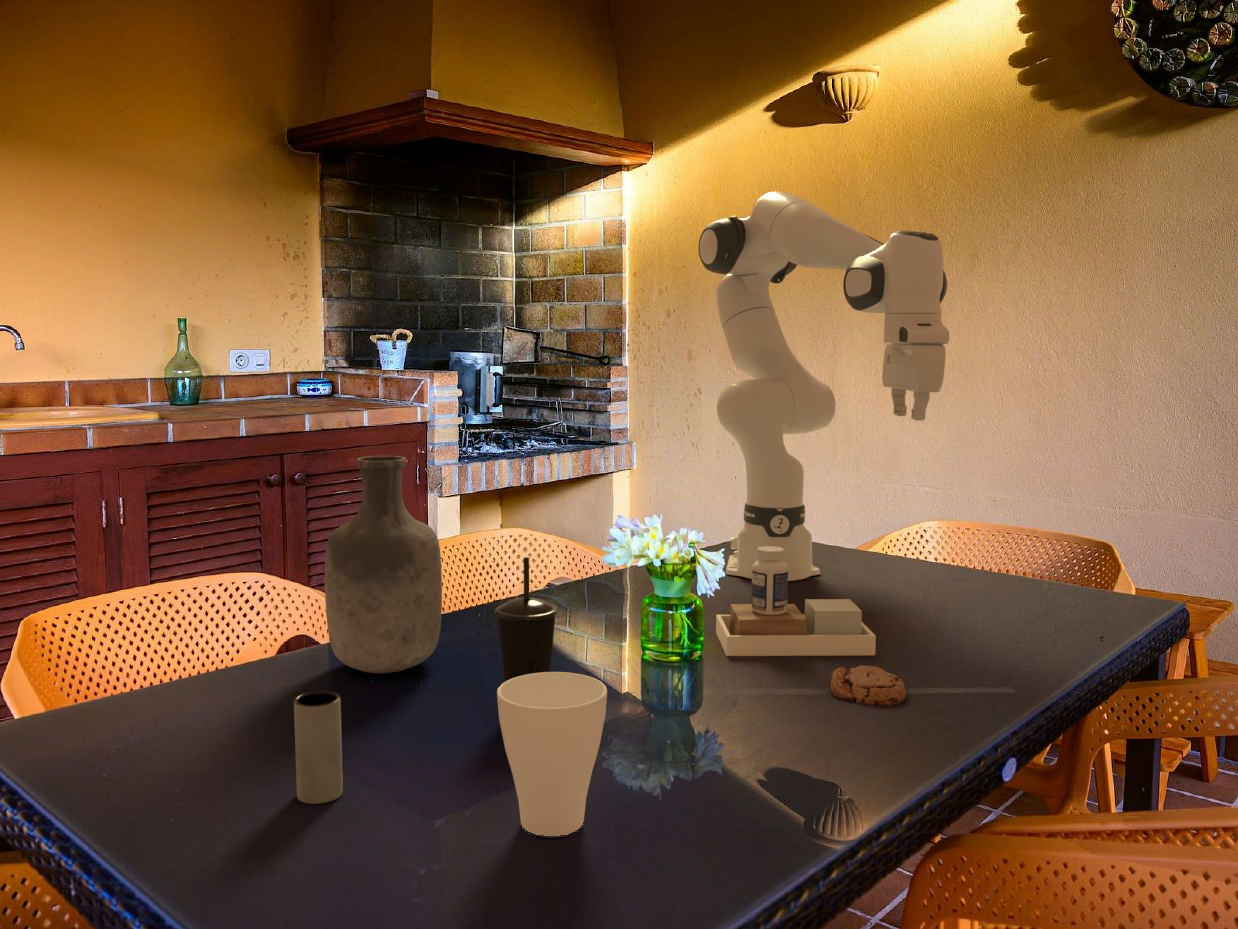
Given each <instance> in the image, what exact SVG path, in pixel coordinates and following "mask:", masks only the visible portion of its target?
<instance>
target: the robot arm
mask: <svg viewBox="0 0 1238 929" xmlns="http://www.w3.org/2000/svg"><path fill="white" fill-rule="evenodd" d="M698 256H699V259H700V262H701V264H702V266H703V267H704V268H705V269H706V271H709V272H711V273H713V274H714V273H715V274H718V275H719V274H720V275H725V276H724V277H723V278H722V279H721V280H720V281H719V282H718V284H717V287H716V303H717V309H718V314H719V319H720V323H721V327H722V331H723V334H724V337H725V340H726V343H727V346H728V350H729V352H730V356H731V360H732V361H733V364H734V365H735V366H736V367H737V369H739V370H741V371H742V372H744V373H745V374H748V375H749V376H750V377H751V378H752V379H751V378H750V379H744V380H742V381H741V380H740V381H737V382H735V383H734V382H733V383H731V384H728V385H726V386H725V387H724V388H723V389H722V391H721V392H720V394H719V396H718V400H717V403H716V404H717V405H716V413H717V418H718V420H719V423H720V424H721V425H722V427H723V429H724V430H725V431H726V432H728V433H729V434H730V435H731V436H732V437H733V438H734V440H735V441H736V443H737V444H738V445H739V448H740V450H741V453H742V455H743V458H744V463H745V468H746V469H745V470H746V502H745V503H744V509H743V521H744V523H743V525H742V527H741V529H739V532H738V533H737V536H733V537H731V538H730V548H731V549H732V550H735V551H733V554H730V555H729V558H728V562H727V565H726V570H725V575H730V576H738V577H743V578H746V579H750V580H752V566H753V564H754V563H755V562H756V561H758V560H759V558H757V549H758V548H759V547H764V546H774V547H780V548H783V549H784V558H783V559H782V562H784V563H786V564H787V566H788V582H791V581H792V582H793V581H799V580H804V579H807V578H809V577H812V576H817V575H820V574H821V570H820V568H818V567H816V566H815V565H813V538H812V535H813V534H812V532H810V531H809V530H808V529H807V528H806V527H805V524H804V523H805V521H806V519H805V518H806V506H805V504H804V480H805V478H804V476H805V475H804V467H803V465H802V463H801V462H800V461H799V459H797V458H796V457H794V456H792V455H791V454H789V452H788V450H787V449H786V447H785V446H786V445H785V442H784V435H797V434H798V435H799V434H807V433H812V432H815V431H818V430H822V429H824V428H826V427H828V426H829V425H830V423H832V420H833V419H834V416H835V414H836V404H837V402H836V397H835V394H834V393H833V390H832V389H831V387H830V386H829V385H828V384H826V383H825V382H822V380H819V379H818V378H817V377H815V376H814V375H813V374H811V373H810V372H809V371H808V370H807V369H806V367H804V365H803V364H802V362H800V361H799V359H798V358H797V357H796V356H795V355H794V353H793V352H792V350H791V348H790V346H789V345H788V343H787V340H786V339H785V336H784V333H783V330H782V326H781V324H780V322H779V320H778V316H777V313H776V310H775V308H774V305H773V303H772V300H771V297H770V294H769V287H770V284H771V283H772V284H780V283H783V281H784V280H785V277H786V276H787V275H789V274H791V273H792V272H793V271H794V270H795V269H796V267H797V266H800V267H804V268H811V269H813V268H814V269H832V270H845V274H844V277H843V285H842V286H843V295H844V297H845V300H846V302H847V304H848V305H849V306H850V307H851V308H852V309H853V310H855V311H857V312H858V311H859V312H863V313H868V314H869V313H870V314H873V313H874V314H884V322H883V323H884V324H883V325H884V326H883V327H884V328H883V330H884V331H883V343H884V344H886V346H885V349H884V353H883V362H882V375H881V376H882V380H881V381H882V385H883V387H885V388H890V389H891V392H890V395H891V400H892V404H893V412H892V413H893V415H894V416H896V417H905V416H907V409H908V406H907V405H906V396H907V391H908V392H909V391H910V392H913V399H914V400H913V401H914V403H913V408H911V420H914V421H917V422H918V421H919V422H920V421H921V422H922V421H924V420H925V419H926V414H927V412H926V411H927V407H928V404H929V402H930V393H940V391H941V389H942V387H943V383H944V376H945V366H946V352H947V350H946V347H945V345H948V344H949V342H950V330H949V329H948V327H946V326H945V325H944V323H943V321H942V316H943V315H942V307H941V303H942V302H943V301H944V298H945V296H946V294H947V290H948V279H947V275H946V271H945V270H944V253H943V246H942V242H941V239H940V238H939V237H938V236H937V235H936V234H934V233H930V232H925V231H915V230H913V231H912V230H896V231H895V232H893V233H892V234H890V236H889V238H888V239H887V241H886V242H885V243H883V242H881V241H879V240H877V239H875V238H873V237H871V236H869V235H867V234H865V233H863V232H860V231H859V230H857V229H855V228H854V227H852V226H850V225H849V224H846V223H845V222H843V221H841V220H839V219H837V218H836V217H834V216H832V215H831V214H829V213H827V212H826V211H824V210H823V209H821V208H819V207H818V206H816V205H815V204H812V202H809V201H808V200H806V199H804V198H802V197H799V196H797V195H794V194H793V193H792V194H791V193H789V192H788V193H787V192H785V191H784V192H783V191H779V190H776V191H775V190H774V191H770V192H767V193H765V194H763V195H762V196H760V198H758V199H757V201H756V202H755V204H754V206H753V208H752V211H751V214H750V215H749V216H748V217H746V218H738V216H736V215H732V216H729V217H727V218H723V219H719V220H716V221H713V222H711V223H709V224H708V225H706V226H705V228H704V229H703V231H702V232H701V234H700V236H699V240H698Z"/></svg>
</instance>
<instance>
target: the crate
mask: <svg viewBox="0 0 1238 929" xmlns="http://www.w3.org/2000/svg"><path fill="white" fill-rule="evenodd" d="M802 614H803V616H804V617H805V613H802ZM715 621H716V622H715V634H716V636H717V639H718V641H719V643H720V644H721V647H722V649H723V651H724V654H725V656H726V657H771V656H772V657H774V656H775V657H791V656H792V657H802V656H804V657H807V656H808V657H810V656H811V657H813V656H814V657H815V656H816V657H817V656H819V657H820V656H821V657H822V656H829V657H831V656H833V657H836V656H838V657H839V656H841V657H842V656H846V657H847V656H854V657H855V656H876V646H877V645H876V642H877V641H876V640H877V639H876V638H877V636H876V634H874V632H873V631H871V629H870V628H868V626H867V625H865V623H864V622H863V621H862V622H861V635H730V614H716V616H715Z"/></svg>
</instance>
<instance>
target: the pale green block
mask: <svg viewBox="0 0 1238 929" xmlns="http://www.w3.org/2000/svg"><path fill="white" fill-rule="evenodd" d="M804 614H805V618H806V619H807V620H806V635H861V622H863V621H862V620H863V619H862V617H863V616H862V614H863V610H861V609H860V608H859V607H858V605H857V604H856V603H855V602H853V601H852V599H849V598H836V599H835V598H834V599H833V598H831V599H830V598H829V599H827V598H825V599H824V598H821V599H820V598H815V599H813V598H809V599H808V598H805V599H804Z"/></svg>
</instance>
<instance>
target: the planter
mask: <svg viewBox="0 0 1238 929" xmlns="http://www.w3.org/2000/svg"><path fill="white" fill-rule="evenodd" d="M293 711H294V712H293V713H294V715H293V718H294V721H293V722H294V742H295V744H294V747H295V774H296V776H295V778H296V779H295V780H296V794H297V795H296V797H297V799H298V801H300V802H302V803H304V804H307V805H308V804H310V805H318V804H326V803H329V802H332V801H334V800H337V799H339V798H340V797H341V796H342V794H343V792H344V790H343V786H344V784H343V779H344V778H343V748H342V746H343V743H342V741H343V739H342V738H343V737H342V707H341V696H340V694H339V693H337V692H334V691H330V690H316V691H314V690H313V691H309V692H306V693H302V694H300V695H297V696H296V697H295V698H294V700H293Z"/></svg>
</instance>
